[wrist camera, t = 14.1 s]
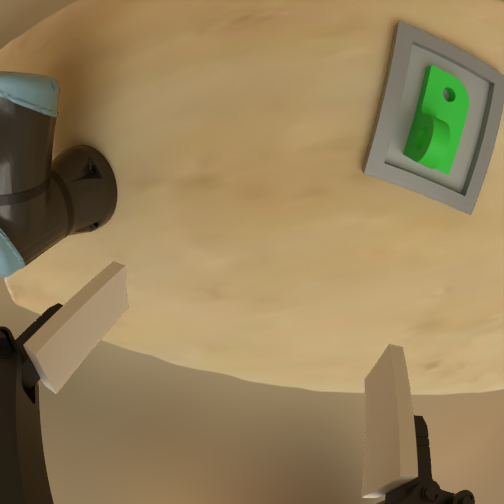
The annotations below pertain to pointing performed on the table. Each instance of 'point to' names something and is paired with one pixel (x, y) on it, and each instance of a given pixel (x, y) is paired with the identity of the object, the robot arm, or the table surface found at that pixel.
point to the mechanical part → (437, 121)
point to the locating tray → (403, 110)
